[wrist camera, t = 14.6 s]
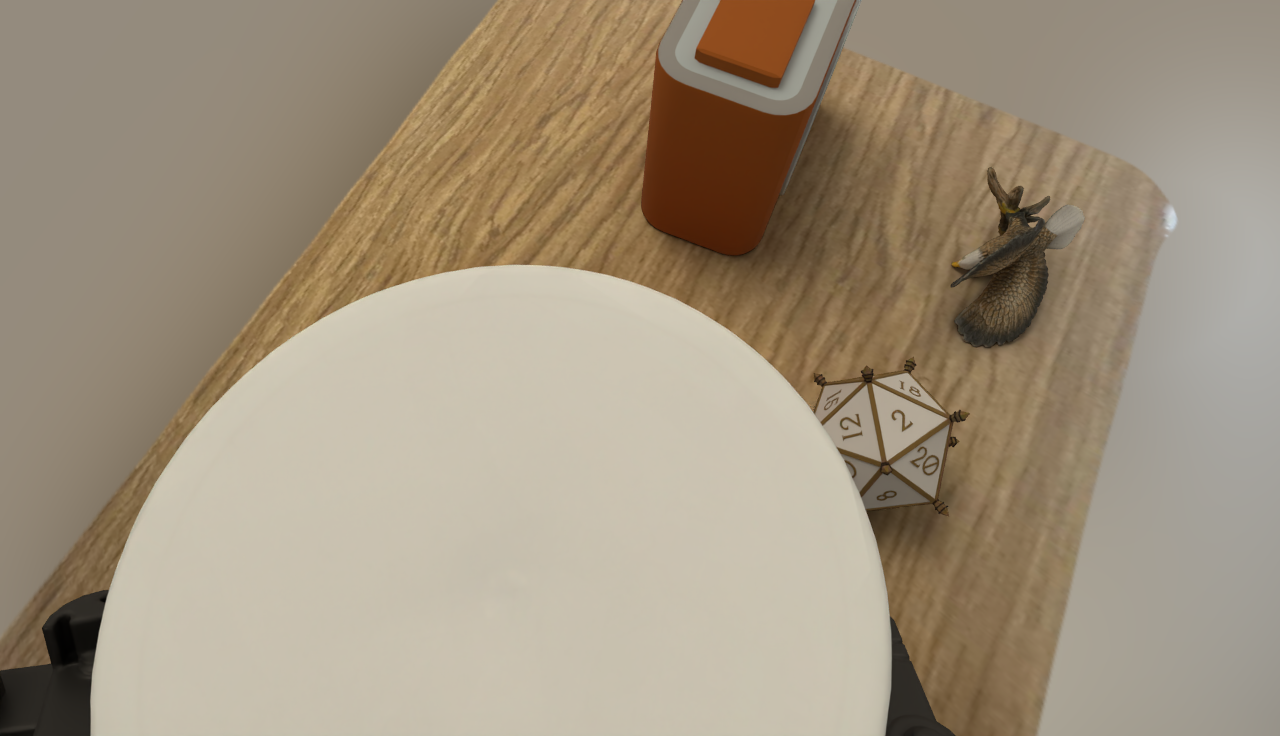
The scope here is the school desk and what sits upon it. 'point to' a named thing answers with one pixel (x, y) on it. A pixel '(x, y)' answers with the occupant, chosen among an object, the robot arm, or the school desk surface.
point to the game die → (889, 436)
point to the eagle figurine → (1013, 267)
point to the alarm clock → (735, 112)
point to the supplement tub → (501, 534)
